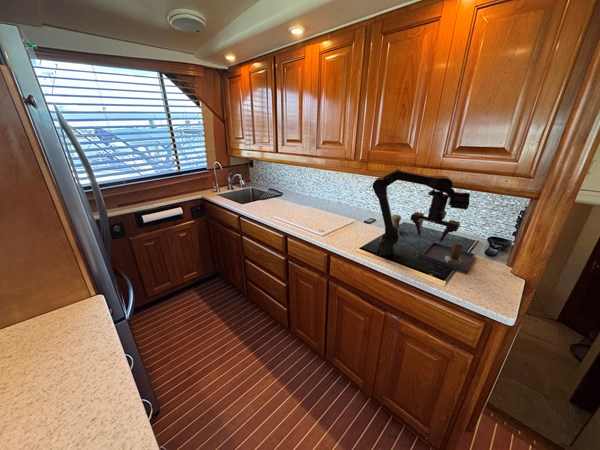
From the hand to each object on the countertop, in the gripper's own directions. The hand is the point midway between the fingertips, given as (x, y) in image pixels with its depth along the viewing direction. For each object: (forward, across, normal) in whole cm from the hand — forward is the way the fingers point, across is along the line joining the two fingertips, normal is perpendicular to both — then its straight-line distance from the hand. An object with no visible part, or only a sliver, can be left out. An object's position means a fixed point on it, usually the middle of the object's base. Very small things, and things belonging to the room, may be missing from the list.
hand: (429, 238), depth 108 cm
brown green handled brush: (+12, -10, -9) cm, 19 cm away
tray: (+13, -7, -13) cm, 20 cm away
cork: (+13, +25, -24) cm, 37 cm away
